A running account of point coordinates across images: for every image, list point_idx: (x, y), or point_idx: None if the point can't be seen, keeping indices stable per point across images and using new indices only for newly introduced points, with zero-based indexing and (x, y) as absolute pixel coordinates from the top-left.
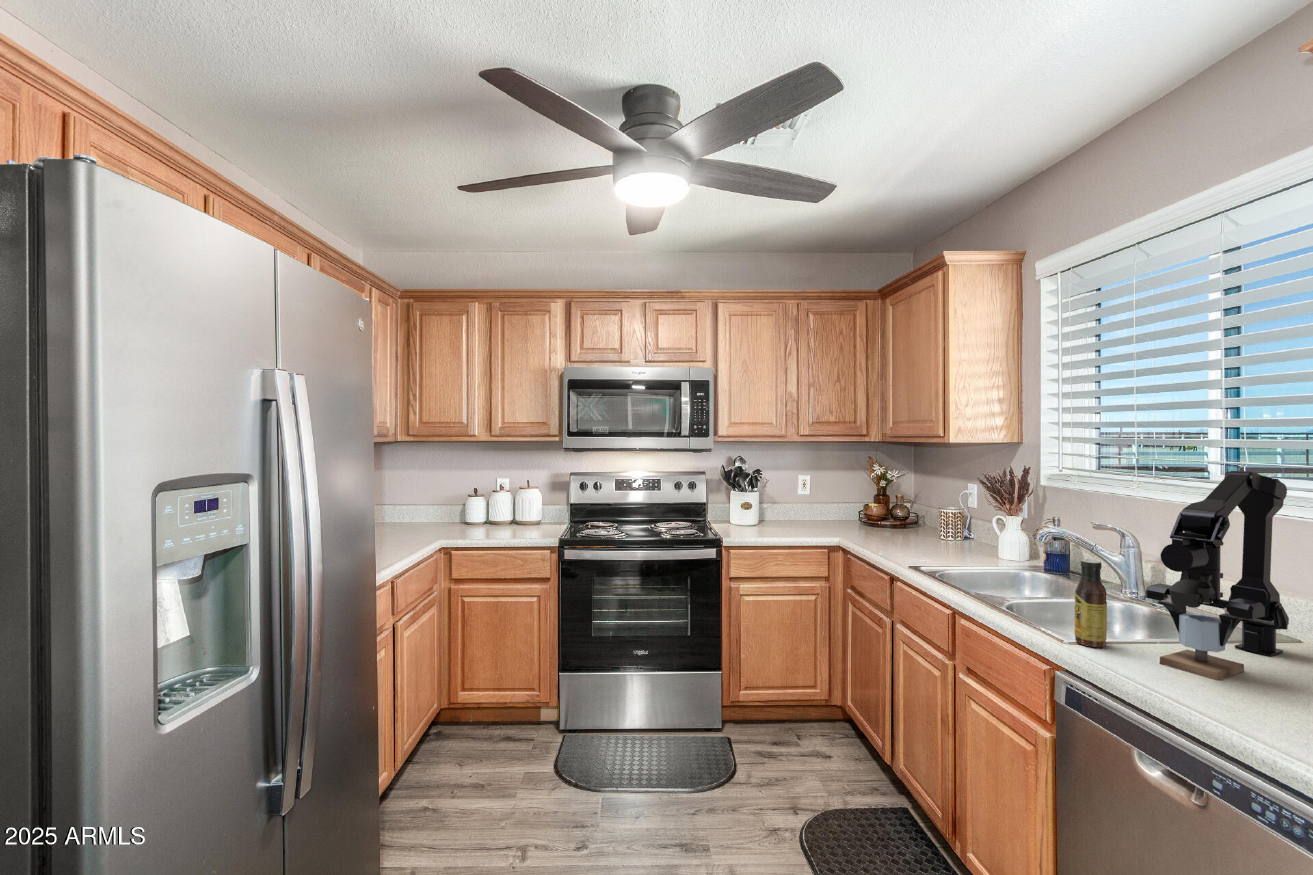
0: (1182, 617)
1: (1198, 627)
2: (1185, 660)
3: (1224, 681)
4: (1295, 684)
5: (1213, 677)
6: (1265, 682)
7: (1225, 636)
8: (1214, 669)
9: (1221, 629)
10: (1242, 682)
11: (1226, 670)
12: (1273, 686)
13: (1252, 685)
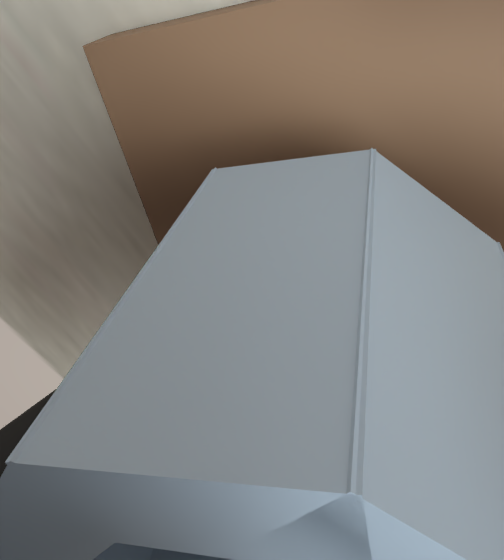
0: (499, 548)
1: (133, 350)
2: (377, 106)
3: (87, 63)
4: (59, 356)
5: (125, 31)
6: (77, 277)
7: (34, 405)
8: (149, 110)
9: (5, 467)
10: (73, 164)
11: (140, 190)
12: (26, 253)
13: (30, 167)
